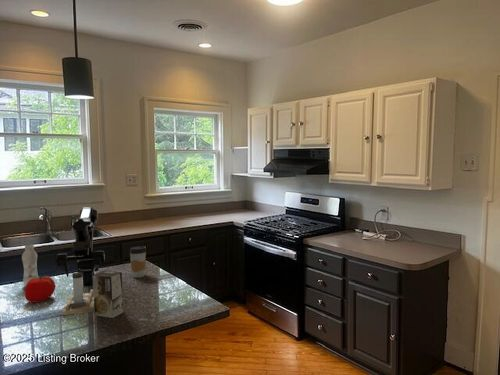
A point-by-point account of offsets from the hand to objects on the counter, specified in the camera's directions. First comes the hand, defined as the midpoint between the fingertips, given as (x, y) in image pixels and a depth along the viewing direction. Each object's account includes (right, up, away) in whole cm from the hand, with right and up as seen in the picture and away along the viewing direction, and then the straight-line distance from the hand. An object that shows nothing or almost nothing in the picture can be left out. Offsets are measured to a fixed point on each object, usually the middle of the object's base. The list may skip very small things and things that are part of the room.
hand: (79, 275), depth 151 cm
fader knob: (+2, -11, -4) cm, 12 cm away
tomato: (-20, -12, +6) cm, 24 cm away
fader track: (0, -12, 0) cm, 12 cm away
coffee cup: (+12, -10, +39) cm, 43 cm away
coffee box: (+16, -13, -9) cm, 22 cm away
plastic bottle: (-36, -11, +26) cm, 45 cm away
